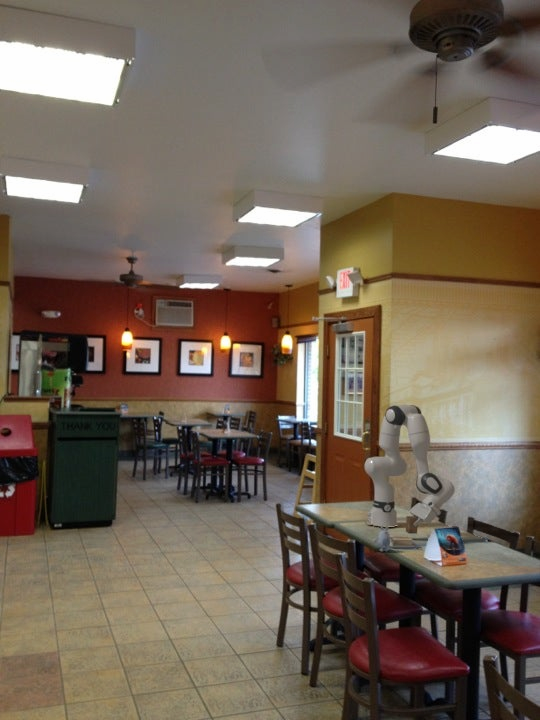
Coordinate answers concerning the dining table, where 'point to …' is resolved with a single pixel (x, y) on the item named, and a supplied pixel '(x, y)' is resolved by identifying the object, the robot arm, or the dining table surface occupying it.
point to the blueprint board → (405, 546)
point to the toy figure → (383, 539)
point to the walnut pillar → (411, 524)
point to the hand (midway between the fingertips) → (411, 524)
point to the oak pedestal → (401, 540)
